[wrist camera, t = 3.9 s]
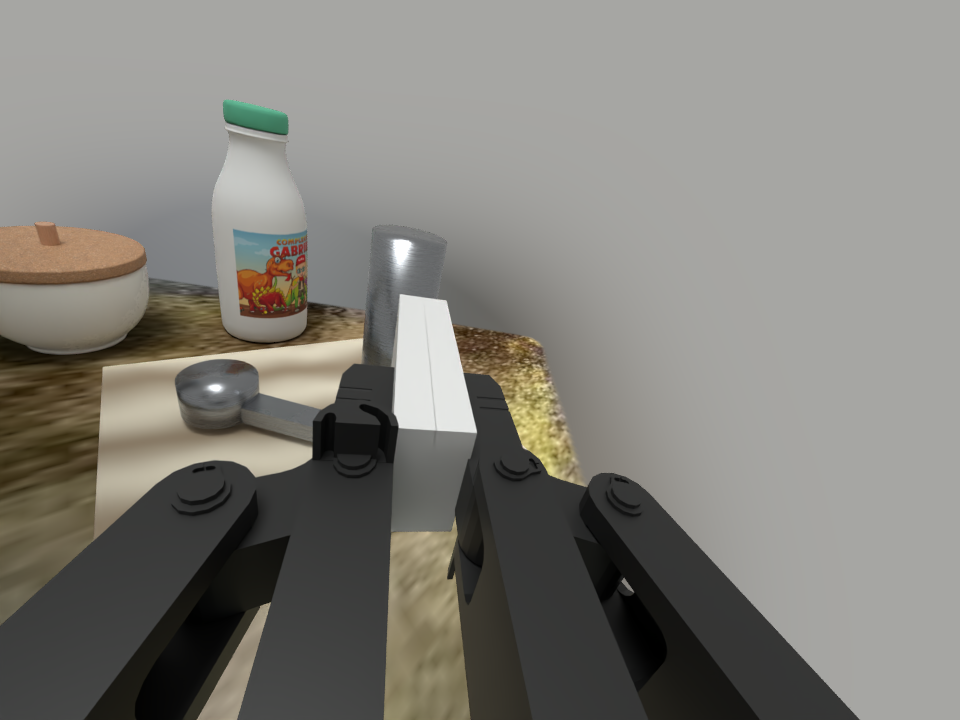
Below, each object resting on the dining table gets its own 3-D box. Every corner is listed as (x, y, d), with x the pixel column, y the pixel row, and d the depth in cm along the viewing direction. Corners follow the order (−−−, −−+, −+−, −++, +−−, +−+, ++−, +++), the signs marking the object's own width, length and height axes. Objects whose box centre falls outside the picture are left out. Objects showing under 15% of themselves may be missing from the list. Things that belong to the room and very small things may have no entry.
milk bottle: (207, 338, 37) (175, 87, 27) (241, 307, 43) (225, 96, 34) (294, 349, 38) (292, 116, 29) (314, 318, 45) (318, 119, 35)
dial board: (109, 390, 28) (102, 364, 27) (404, 349, 43) (407, 331, 42) (101, 663, 15) (86, 634, 14) (524, 472, 30) (531, 451, 29)
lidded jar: (170, 311, 39) (153, 216, 35) (146, 367, 31) (121, 253, 27) (17, 308, 34) (-25, 196, 30) (-58, 374, 26) (-131, 234, 22)
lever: (162, 418, 24) (108, 169, 17) (214, 382, 28) (187, 168, 21) (414, 485, 23) (458, 259, 17) (431, 439, 27) (472, 241, 21)
